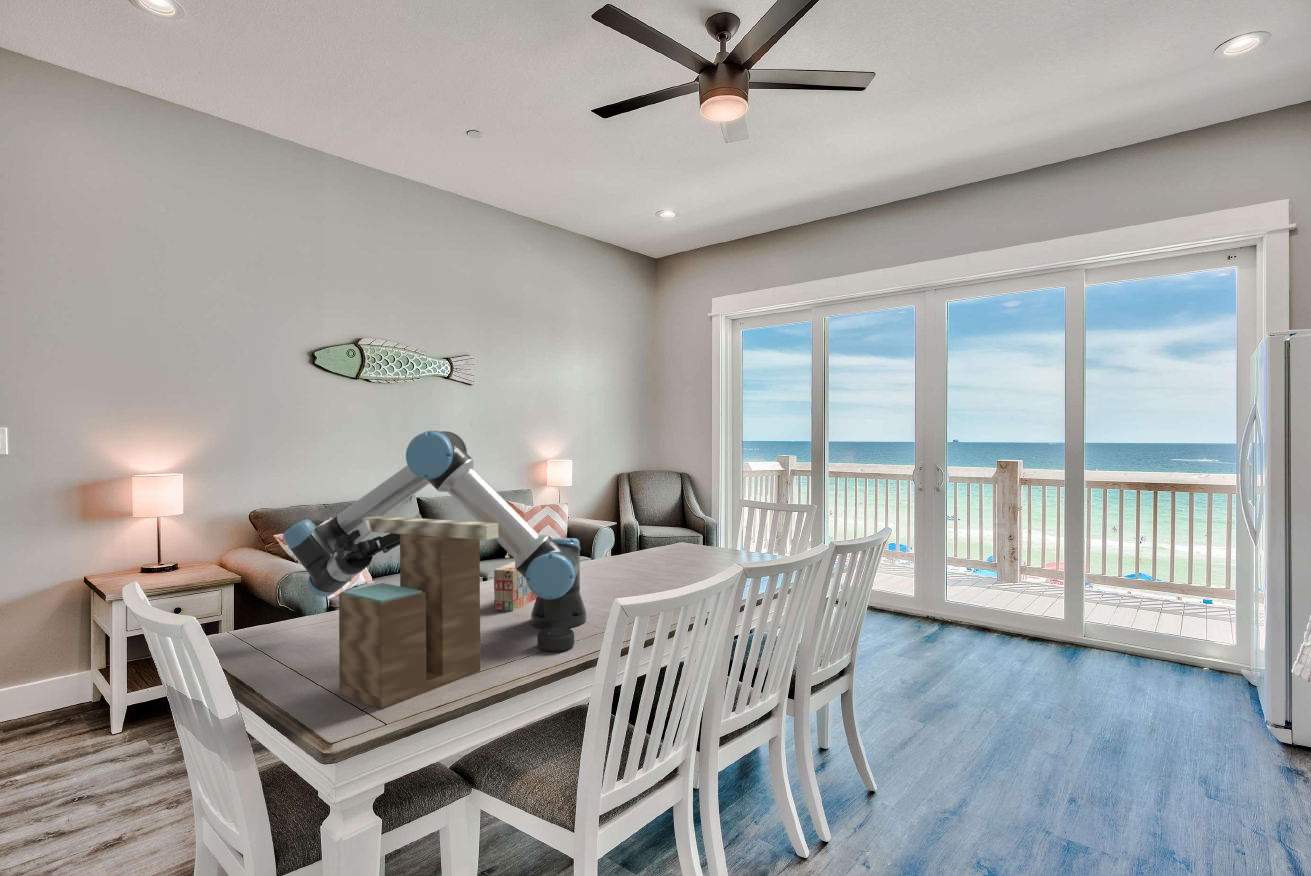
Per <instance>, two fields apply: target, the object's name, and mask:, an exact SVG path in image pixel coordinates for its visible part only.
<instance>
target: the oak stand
mask: <svg viewBox="0 0 1311 876" xmlns="http://www.w3.org/2000/svg"><path fill="white" fill-rule="evenodd" d="M480 541H481V540H477V539H463V538H449V537H435V536H422V535H408V534H402V535H400V545H399V564H400V565H399V582H400V583H399V584H400V585H395V584H391V583H386V582H385V583H384V582H382V583H378V584H372V585H368V586H363V587H359V588H354V589H348V590H345V591H342V592H341V593H339V594H338V619H339V620H338V636H339V639H338V641H339V644H338V647H339V649H338V650H339V651H338V653H339V656H338V657H339V659H338V661H339V666H338V667H339V669H338V670H339V694H341V695H343V696H344V697H347V698H350V699H353V700H355V701H358V702H361V703H364V704H365V705H369V706H371V707H375V708H376V709H379V710H385V709H386V708H389V707H392V706H394V705H396V704H400V703H402V702H405V701H406V700H409V699H412V698H415V697H418V696H420V695H422V694H424V693H428V692H430V691H432V690H435V689H438V688H440V687H442V686H445V685H448V684H450V683H453V682H456V681H457V680H460V679H463V678H466V677H468V676H471V675H474V674H476V673H478V672H481V591H480V589H481V584H480V583H481V580H480V579H481V576H480V575H481V569H480V566H481V563H480V562H481V561H480V560H481V557H480V555H481V552H480V551H481V550H480V547H481V546H480Z"/></svg>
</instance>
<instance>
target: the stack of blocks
mask: <svg viewBox="0 0 1311 876" xmlns="http://www.w3.org/2000/svg"><path fill="white" fill-rule="evenodd" d="M493 579H494V580H493V590H494V592H493V595H494V602H493V603H494V609H493V610H494V611H501V612H502V611H504V612H505V611H506V612H515V611H516V610H518V609H520V608H522V607H524V606H526V605H528V604H529V603H531V602H532V601H536V598H537V596H536V595H535V594H534V593H533V592H532V591H531V590H530V589H529V587H528V585H527V582H526V579H525V578H524V577H523V576H522V575H521V573H520V572H519V571H518V570H517V569H516V568H515V561H512V562H509V563H506V564H504V565H502V566H500V567H497V568H494V570H493Z"/></svg>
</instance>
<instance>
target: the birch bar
mask: <svg viewBox="0 0 1311 876" xmlns="http://www.w3.org/2000/svg"><path fill="white" fill-rule="evenodd" d="M364 521H369V524H370V527H371V530H372V532H371V533H380V534H381V533H382V534H383V533H384V534H390V533H394V534H408V535H422V536H435V537H449V538H463V539H477V540H480V541H489V540H493V539H494V538H498V523H486V522H477V521H469V520H468V521H467V520H452V519H451V520H449V519H434V518H422V519H419V518H414V517H404V516H403V517H399V516H386V515H384V516H373V517H367V518H363V522H364ZM494 540H495V539H494Z"/></svg>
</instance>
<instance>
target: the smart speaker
mask: <svg viewBox="0 0 1311 876" xmlns="http://www.w3.org/2000/svg"><path fill="white" fill-rule="evenodd" d="M574 646H575V632H574V630H572V629H571V628H570V627H569V628H566V627H551V628H542V630H539V632H538V633H537V647H538V649H539V650H541V651H543V652H548V653H549V652H550V653H558V652H560V653H561V652H564V651H568V650H570V649H571V648H573V647H574Z"/></svg>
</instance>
